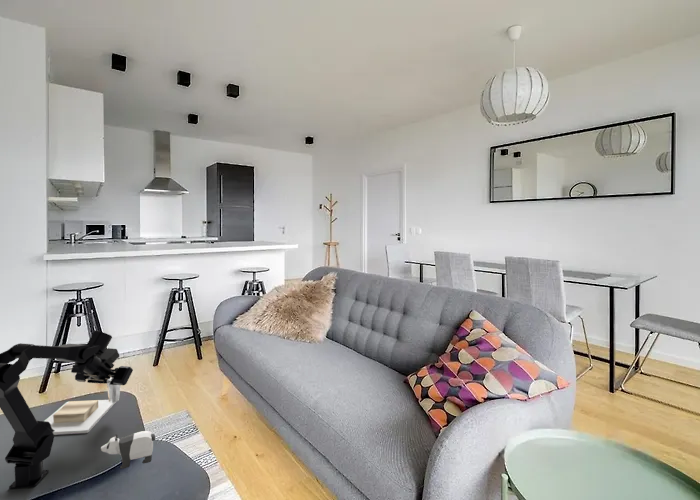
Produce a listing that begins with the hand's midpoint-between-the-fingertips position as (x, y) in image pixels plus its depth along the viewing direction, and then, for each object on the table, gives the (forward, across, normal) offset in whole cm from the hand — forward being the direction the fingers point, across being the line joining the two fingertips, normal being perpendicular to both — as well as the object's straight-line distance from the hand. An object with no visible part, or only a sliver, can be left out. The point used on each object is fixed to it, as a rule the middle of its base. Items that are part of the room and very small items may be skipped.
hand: (116, 382), depth 138 cm
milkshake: (+4, 0, +6) cm, 7 cm away
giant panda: (-7, -23, +26) cm, 35 cm away
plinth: (+7, +14, +11) cm, 19 cm away
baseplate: (+7, +14, +11) cm, 19 cm away
